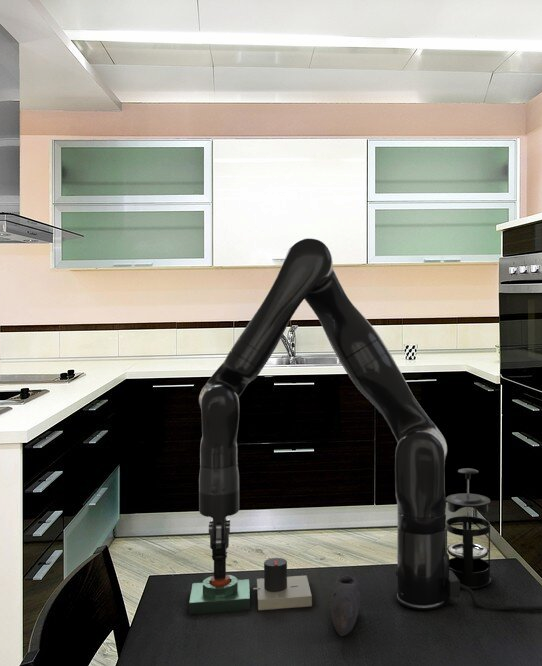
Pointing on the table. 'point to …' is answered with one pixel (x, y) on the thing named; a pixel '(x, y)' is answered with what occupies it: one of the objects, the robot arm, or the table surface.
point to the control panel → (285, 594)
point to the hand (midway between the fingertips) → (219, 577)
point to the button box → (219, 596)
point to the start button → (220, 581)
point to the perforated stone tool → (345, 602)
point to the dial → (275, 574)
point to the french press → (469, 538)
